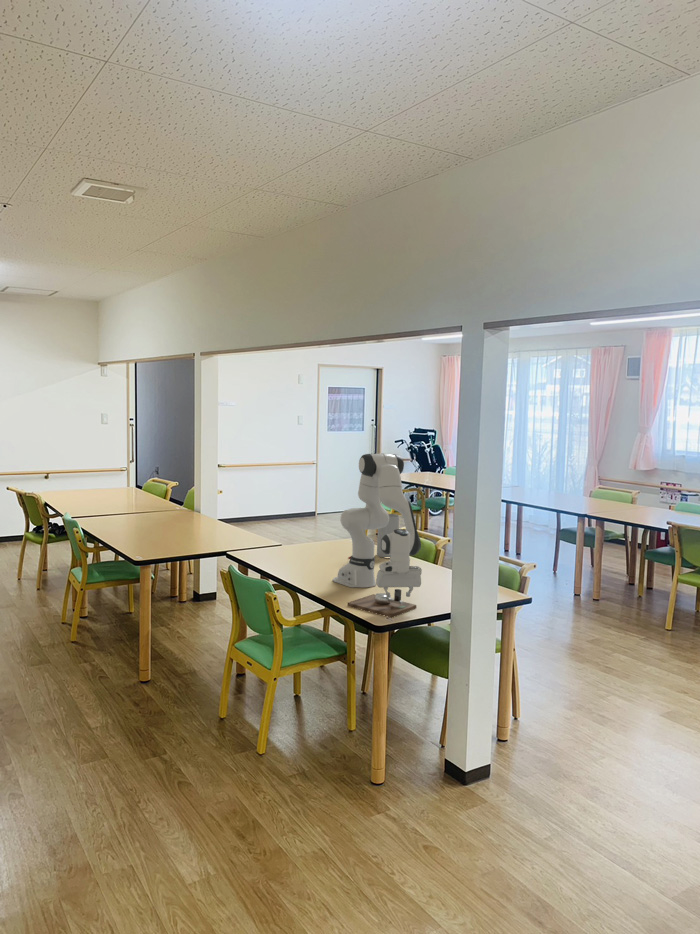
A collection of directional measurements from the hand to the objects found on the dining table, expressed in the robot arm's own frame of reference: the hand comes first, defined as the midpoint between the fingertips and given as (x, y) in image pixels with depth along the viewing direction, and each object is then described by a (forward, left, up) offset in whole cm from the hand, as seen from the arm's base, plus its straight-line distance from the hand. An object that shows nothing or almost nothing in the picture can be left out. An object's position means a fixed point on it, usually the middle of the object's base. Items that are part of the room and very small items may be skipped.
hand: (398, 596), depth 308 cm
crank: (-5, 0, -4) cm, 6 cm away
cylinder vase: (-65, +86, -6) cm, 108 cm away
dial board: (-7, -2, -6) cm, 9 cm away
